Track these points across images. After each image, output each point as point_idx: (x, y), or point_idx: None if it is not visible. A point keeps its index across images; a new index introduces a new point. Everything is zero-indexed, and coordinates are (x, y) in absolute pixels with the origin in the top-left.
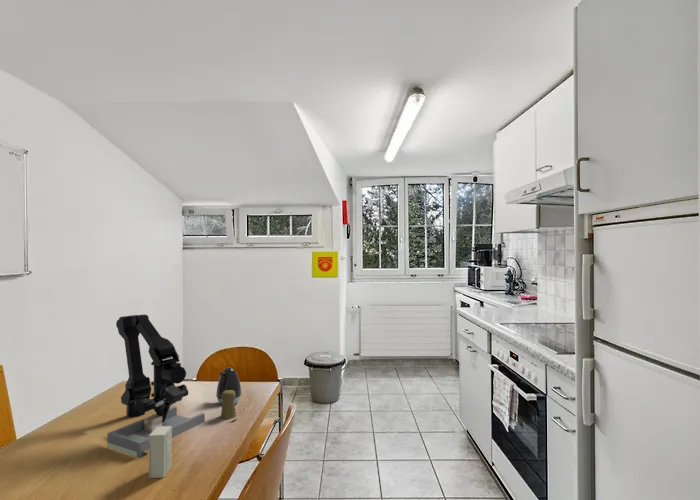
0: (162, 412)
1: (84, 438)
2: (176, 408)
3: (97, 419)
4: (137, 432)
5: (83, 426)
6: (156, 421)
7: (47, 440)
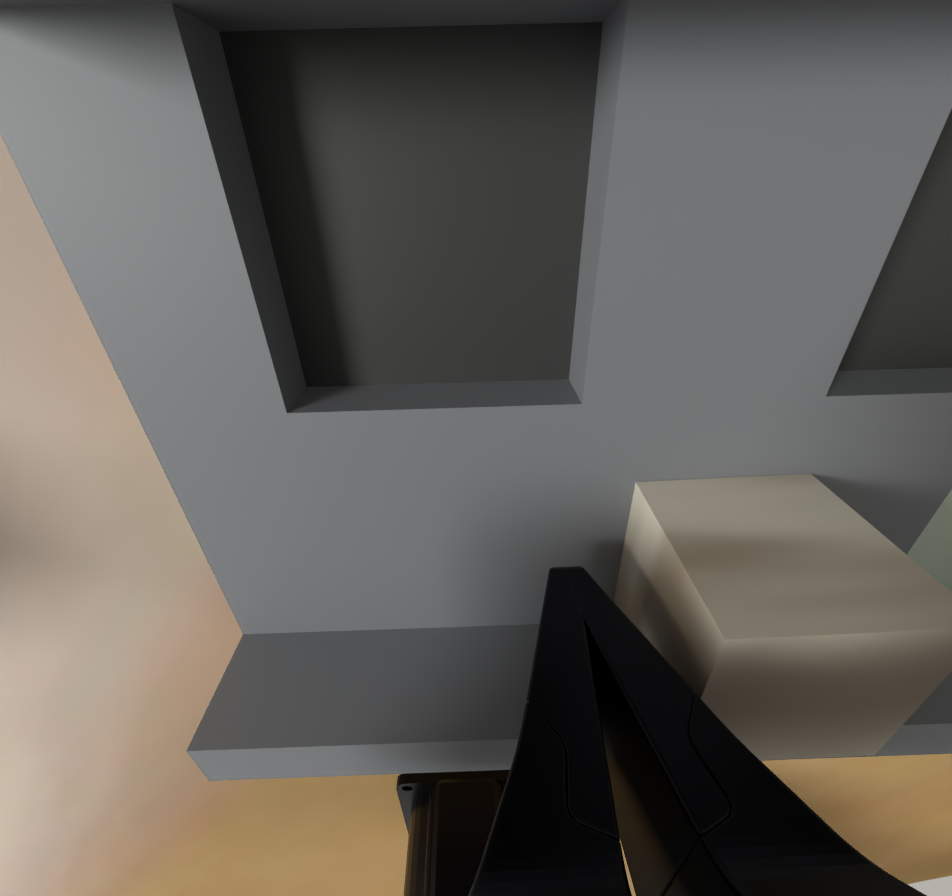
0: (712, 742)
1: (857, 774)
2: (201, 728)
3: None
4: None
5: None
6: (835, 586)
7: (892, 842)
